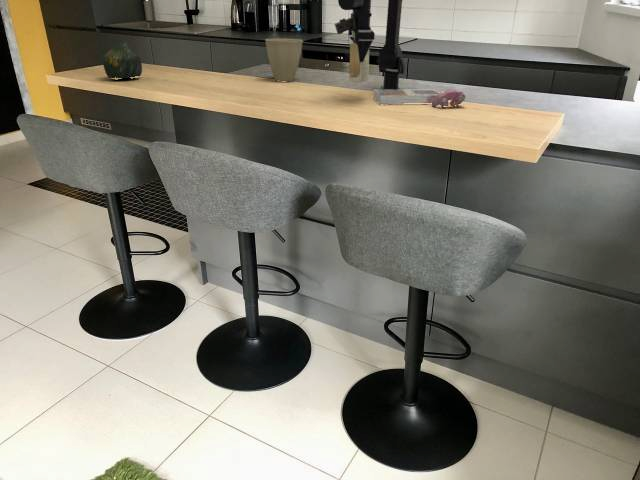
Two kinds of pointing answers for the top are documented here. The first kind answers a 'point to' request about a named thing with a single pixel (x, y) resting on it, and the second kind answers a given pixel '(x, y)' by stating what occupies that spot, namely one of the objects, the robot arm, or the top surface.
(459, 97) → the video game controller
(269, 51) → the plant pot
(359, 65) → the skincare box
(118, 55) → the squash
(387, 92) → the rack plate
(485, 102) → the top surface
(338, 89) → the top surface
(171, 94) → the top surface
